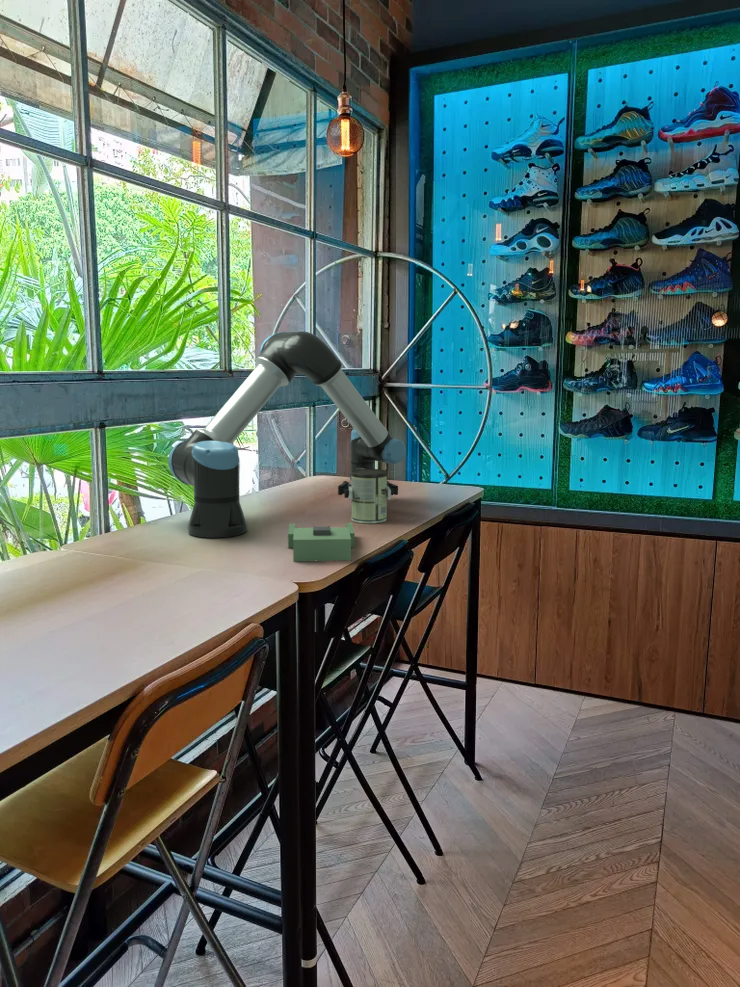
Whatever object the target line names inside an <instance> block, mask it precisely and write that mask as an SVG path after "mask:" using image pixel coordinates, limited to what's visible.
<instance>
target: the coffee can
mask: <svg viewBox="0 0 740 987" xmlns="http://www.w3.org/2000/svg"><path fill="white" fill-rule="evenodd" d="M350 472H351V480H350V484H351V488H352V500H350V501H351V507H350V508H351V516H350V517H351V518H350V521H352V522H353V523H357V524H367V525H369V524H370V525H371V524H373V525H374V524H381V523H386V522H387V520H388V519H387V518H388V517H387V515H388V514H387V513H388V512H387V508H388V499H387V481H388V470H385V469H378V468H374V469H357V470H353V471H351V470H350Z"/></svg>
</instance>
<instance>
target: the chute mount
mask: <svg viewBox="0 0 740 987" xmlns="http://www.w3.org/2000/svg"><path fill="white" fill-rule="evenodd" d="M355 540H356V539H355V530H354V527H353V523H352V522H345V527H331V526H330V525H329V526H328V525H327V526H313V527H296V523H293V522H292V523H289V524H288V533H287V546H288V547H287V548H288V549H293V550H292V551H293V553H292V554H293V556H292V558H293V562H332V561H331V560H342V561H341V562H343V560H346V561H348V562H350V561H351V562H352V548H351V547H353V548H355V545H356V544H355V542H356V541H355ZM315 560H317V561H315ZM346 561H345V562H346Z"/></svg>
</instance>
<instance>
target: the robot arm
mask: <svg viewBox="0 0 740 987" xmlns="http://www.w3.org/2000/svg"><path fill="white" fill-rule="evenodd" d="M259 352H260V354H259V355H257V357H256V358H255V368H254V369H253V370H252V372H251V373H250V374H249V375H248V376H247V378H245V379H244V381H243V382H242V383H241V385H240V386H239V387H238V388H237V389H236V390H235V391H234V393H233V394H232V395H231V397H229V398H228V399H227V401H226V402H225V403H224V404H223V406H222V407H221V408H220V409H219V410H218V412H217V413H216V414H215V415H214V416H213V418H212V419H211V420H210V421H209V422H208V423H207V424H206V426H205V427H203V428H197V429H195V430H194V431H193V433H192V434H190V436H189V437H188V438H187V440H184V441H180V442H178V443H176V444H175V445H174V446H173V448H172V449H171V450H170V453H169V456H168V460H167V461H168V462H167V463H168V469H169V471H170V472H171V475H172V476H173V477H174V478H175V479H176V480H178V481H180V483H182V484H185V485H189V486H193V498H194V501H193V506H192V510H191V514H190V517H189V521H188V526H187V528H188V529H187V530H188V531H187V532H188V535H190V536H193V537H198V538H209V539H210V538H212V539H215V538H216V539H217V538H231V537H235V536H240V535H243V534H245V533H246V532H247V530H248V527H247V526H248V523H247V519H246V517H245V514H244V512H243V509H242V506H241V500H240V457H239V449H238V448H237V446H236V444H233V443H235V441H236V440H237V439H238V437H240V435H241V434H242V432H244V430H246V428H247V426H248V425H249V424H250V423H251V422H252V420H254V418H255V417H256V416H257V414H258V413H259V412H260V411H261V410H262V408H263V407H264V406H265V405H266V404H267V402H268V401H269V400H270V399H271V398H272V396H273V395H274V394H275V392H277V391H278V389H279V388H280V387H287V386H288V385H289V384H290V383H291V382H292V380H293V379H295V377H296V376H297V375H298V374H302V375H304V376H306V377H307V378H308V379H309V380H310V381H311V382H312V383H313V384H314V385H315V386H317V387H318V386H319V387H320V388H322V390H323V391H324V393H325V394H326V395H327V397H329V399H330V400H331V401H332V402H333V404H334V405H335V406H336V407H337V409H338V410H339V411H340V412H341V414H342V415H343V417H344V418H345V419H346V421H348V423H349V424H350V425H351V427H352V430H351V433H350V434H351V437H350V441H349V442H350V472H349V479H350V481H351V471H353V470H357V469H375V462H379V463H380V462H381V463H385V464H391V465H392V464H393V465H395V464H396V465H397V464H399V463H401V462H402V461H403V460H404V458H405V456H406V451H407V449H406V446H405V443H404V442H403V441H402V440H400V439H397V438H393V436H392V435H391V433H390V432H389V431H388V430H387V429H386V427H385V426H384V425H383V423H382V422H381V420H380V419H379V418H378V417H377V415H376V414H375V412H374V411H373V410H372V408H371V407H370V406H369V405H368V403H367V402H366V401H365V399H364V398H363V396H362V395H361V394H360V392H359V391H358V390H357V389H356V387H355V386H354V385H353V383H352V381H351V380H350V379H349V378H348V376H347V375H346V374H345V372H344V371H343V370H342V368H343V363H342V362H341V361H340V360H339V358H338V357H337V356H336V354H335V353H334V352H333V350H331V348H330V347H329V346H328V345H327V344H326V343H325V342H324V341H323V340H322V339H321V338H319V337H318V336H317V335H315V334H313V333H312V332H309V331H288V332H287V331H281V332H276V333H274V334H271V335H269V336H268V337H267V338H266V339H264V341H263V342H262V344H261V347H260V349H259ZM350 481H347V480H343V482H342V483H341V484H339V485H338V486H337V496H342V495H343V494H344V498H345V499H349V500H350V501H351V500H352V488H351V483H350ZM394 495H395V496H397V495H399V485H398V484H394V483H391V482H390V481H388V480H387V501H391V500H392V496H394Z"/></svg>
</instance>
